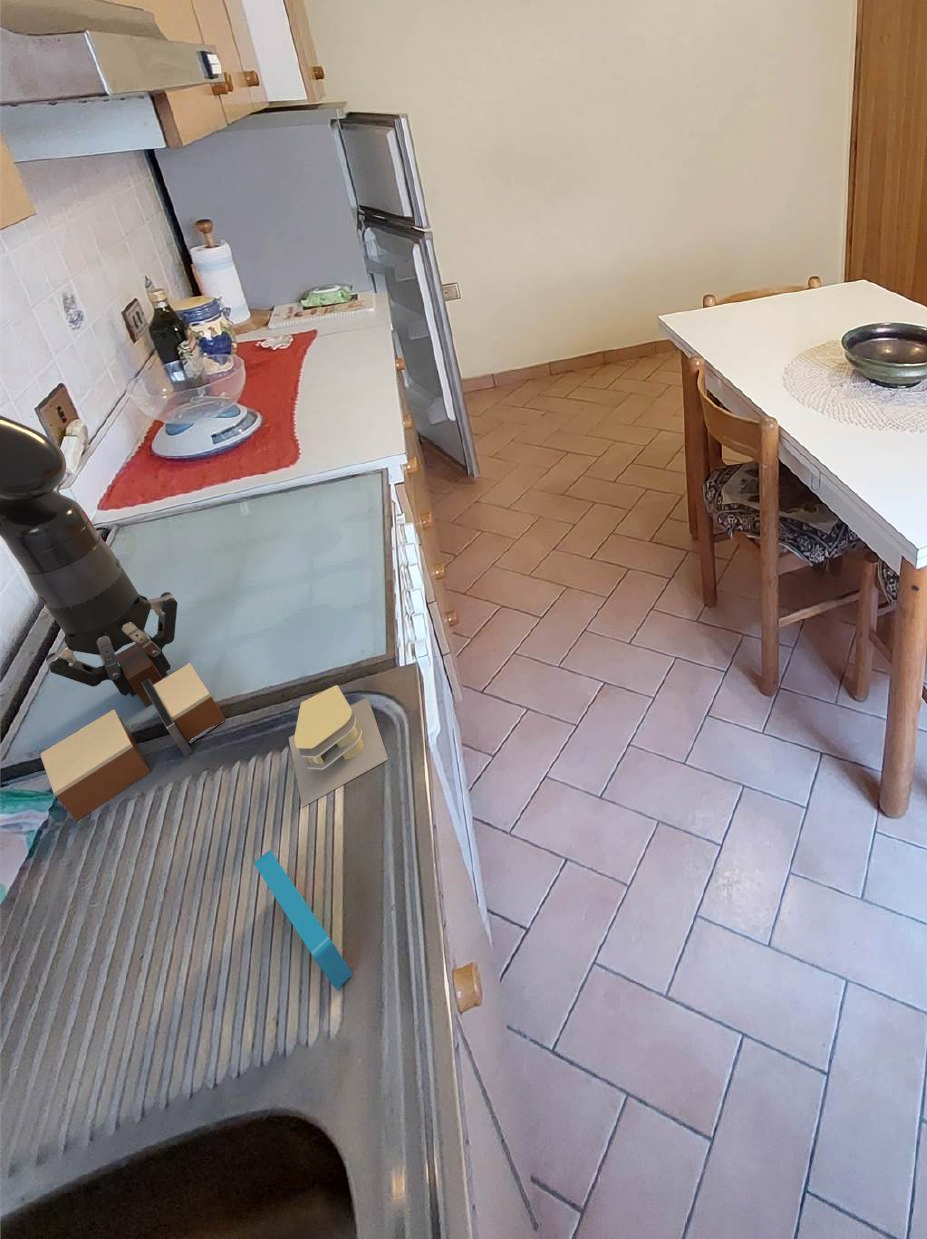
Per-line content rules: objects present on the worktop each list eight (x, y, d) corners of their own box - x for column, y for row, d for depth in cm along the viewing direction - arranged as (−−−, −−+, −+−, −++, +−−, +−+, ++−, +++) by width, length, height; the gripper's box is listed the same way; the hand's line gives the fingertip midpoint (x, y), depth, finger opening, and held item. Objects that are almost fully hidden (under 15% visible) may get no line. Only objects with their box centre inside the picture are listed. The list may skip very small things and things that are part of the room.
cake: (77, 820, 77) (53, 792, 74) (62, 781, 81) (39, 753, 78) (150, 771, 81) (130, 743, 79) (133, 736, 85) (113, 708, 83)
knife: (175, 763, 81) (156, 734, 79) (132, 682, 92) (114, 655, 90) (202, 745, 83) (184, 716, 81) (156, 667, 94) (139, 640, 92)
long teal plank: (276, 896, 68) (252, 860, 65) (292, 883, 69) (268, 847, 66) (337, 992, 61) (313, 957, 58) (354, 975, 62) (331, 940, 59)
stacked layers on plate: (288, 737, 83) (271, 706, 81) (368, 696, 87) (354, 665, 85) (302, 807, 76) (283, 775, 73) (388, 759, 80) (374, 727, 77)
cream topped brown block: (189, 745, 84) (171, 717, 81) (170, 712, 88) (152, 684, 85) (226, 720, 86) (209, 692, 84) (206, 689, 90) (189, 662, 88)
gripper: (141, 535, 90) (198, 633, 98) (0, 603, 81) (76, 704, 89) (159, 560, 85) (217, 661, 93) (12, 635, 76) (90, 739, 84)
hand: (148, 682), depth 91 cm, fingers closed on knife, 2 cm apart
